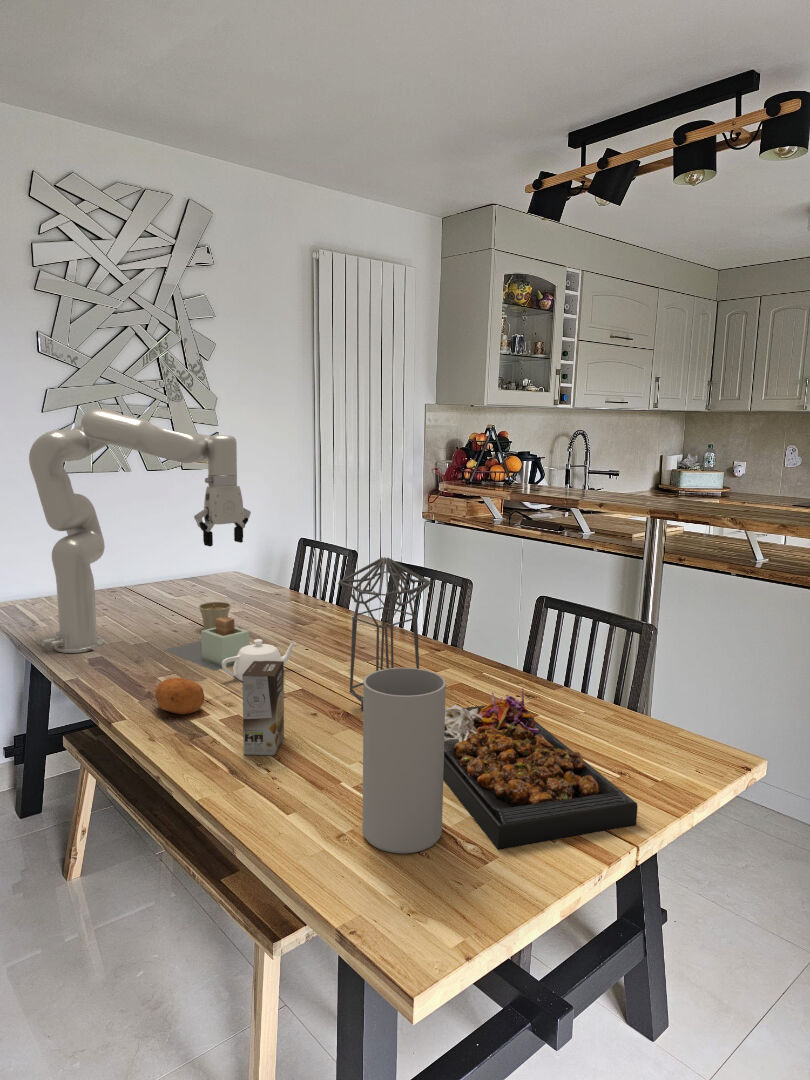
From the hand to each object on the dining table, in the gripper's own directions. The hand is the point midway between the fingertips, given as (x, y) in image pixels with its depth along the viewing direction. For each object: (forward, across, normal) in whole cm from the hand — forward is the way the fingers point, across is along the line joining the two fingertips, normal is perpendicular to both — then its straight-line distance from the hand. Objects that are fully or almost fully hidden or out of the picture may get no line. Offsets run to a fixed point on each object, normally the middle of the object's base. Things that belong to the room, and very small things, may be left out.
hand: (223, 543), depth 203 cm
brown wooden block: (+28, -7, -11) cm, 31 cm away
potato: (+30, -33, -30) cm, 54 cm away
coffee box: (+30, -30, -58) cm, 72 cm away
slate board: (+30, -7, -4) cm, 31 cm away
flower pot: (+30, +6, +14) cm, 34 cm away
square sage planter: (+29, -7, -11) cm, 32 cm away
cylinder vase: (+30, -34, -99) cm, 109 cm away
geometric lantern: (+30, -1, -63) cm, 69 cm away
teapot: (+30, -8, -27) cm, 41 cm away
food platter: (+30, -6, -99) cm, 104 cm away
